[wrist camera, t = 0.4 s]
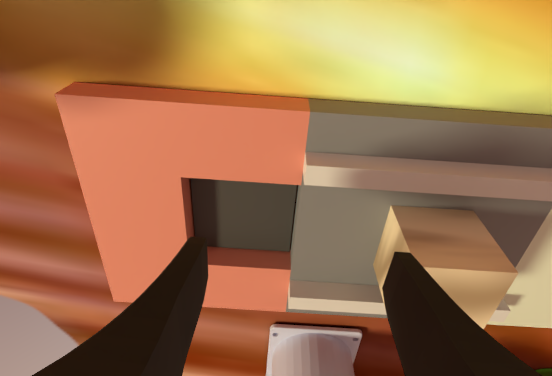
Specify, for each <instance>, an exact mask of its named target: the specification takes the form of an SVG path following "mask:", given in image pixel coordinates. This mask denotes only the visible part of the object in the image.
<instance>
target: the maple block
mask: <svg viewBox="0 0 552 376" xmlns="http://www.w3.org/2000/svg"><path fill="white" fill-rule="evenodd" d="M394 252H409V253H411V254H412V255H413V256H414V257H415V258H416V259H417V260H418V262H419V263H420V264H421V265H422V266H423V267H424V269H425V270H426V271H427V272H428V273H429V274H430V275H431V277H432V278H433V279H434V280H435V281H436V282H437V283H438V284H439V286H440V287H441V288H442V289H443V290H444V291H445V292H446V293H447V294H448V295H449V296H450V298H451V299H452V300H453V301H454V302H455V303H456V304H457V305H458V306H459V307H460V308H461V309H462V310H463V311H464V312H465V313H466V314H467V315H468V316H469V317H470V318H471V319H472V320H473V321H475V322H476V323H477V324H478V325H479V326H480V327H481V328H482V329H484V328H485V326H486V324H487V323H488V321H489V320H490V318H491V317H492V315H493V313H494V312H495V310H496V309H497V307H498V305H499V304H500V302H501V301H502V299H503V297H504V296H505V294H506V293H507V291H508V289H509V288H510V286H511V285H512V283H513V281H514V280H515V278H516V277H517V275H518V272H517V270H516V269H515V267H514V266H513V265H512V263H511V262H510V261H509V259H508V258H507V256H506V255H505V254H504V252H503V251H502V249H501V248H500V247H499V245H498V244H497V243H496V241H495V240H494V238H493V237H492V236H491V234H490V233H489V232H488V230H487V229H486V227H485V226H484V225H483V223H482V222H481V220H480V219H479V218H478V216H477V215H476V214H475V212H474V211H469V210H454V209H439V208H424V207H409V206H393V205H391V207H390V210H389V213H388V217H387V220H386V223H385V227H384V230H383V233H382V237H381V240H380V243H379V247H378V250H377V253H376V257H375V260H374V263H373V266H374V270H375V273H376V277H377V281H378V284H379V288H380V291H381V295H382V299H383V302H384V297H383V291H382V287H383V284H384V281H385V278H386V275H387V272H388V269H389V267H390V264H391V261H392V258H393V255H394ZM384 306H385V303H384Z"/></svg>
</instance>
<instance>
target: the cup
mask: <svg viewBox="0 0 552 376" xmlns="http://www.w3.org/2000/svg"><path fill="white" fill-rule="evenodd" d="M535 371H536V372H538V373H539V374H541V375H542V376H552V369H538V370H535Z"/></svg>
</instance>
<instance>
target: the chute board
mask: <svg viewBox="0 0 552 376" xmlns="http://www.w3.org/2000/svg"><path fill="white" fill-rule="evenodd" d="M55 97H56V101H57V104H58V108H59V111H60V115H61V118H62V122H63V125H64V129H65V132H66V136H67V139H68V143H69V146H70V150H71V153H72V157H73V160H74V164H75V167H76V171H77V174H78V178H79V181H80V185H81V188H82V192H83V195H84V199H85V202H86V206H87V209H88V213H89V216H90V220H91V223H92V227H93V230H94V234H95V237H96V241H97V244H98V248H99V251H100V255H101V258H102V262H103V265H104V269H105V272H106V275H107V279H108V282H109V286H110V289H111V293H112V296H113V300H114V301H117V302H134V301H135V300H136V299H137V298H138V297H139V296H140V295H141V294H142V293H143V292H144V291H145V290H146V289H147V288H148V287H149V286H150V285H151V284H152V283H153V282H154V281H155V279H156V278H157V277H158V276H159V275H160V274H161V273H162V271H163V270H164V269H165V268H166V267H167V266H168V264H169V263H170V262H171V261H172V260H173V258H174V257H175V256H176V254H177V253H178V252H179V251H180V249H181V248H182V247H183V245H184V244H185V242H186V241H187V239H188V238H190V237H203V238H207V254H208V281H207V287H206V292H205V297H204V302H203V305H202V307H215V308H231V309H248V310H264V311H280V312H297V313H313V314H329V315H345V316H362V317H378V318H387V314H386V309H385V306H384V302H383V299H382V295H381V291H380V288H379V284H378V281H377V277H376V273H375V270H374V266H373V263H374V260H375V257H376V253H377V250H378V247H379V243H380V240H381V237H382V233H383V230H384V227H385V223H386V220H387V217H388V213H389V210H390V207H391V205H393V206H409V207H424V208H439V209H454V210H469V211H474V212H475V214H476V215H477V216H478V218H479V219H480V220H481V222H482V223H483V225H484V226H485V227H486V229H487V230H488V232H489V233H490V234H491V236H492V237H493V238H494V240H495V241H496V243H497V244H498V245H499V247H500V248H501V249H502V251H503V252H504V254H505V255H506V256H507V258H508V259H509V261H510V262H511V263H512V265H513V266H514V267H515V269H516V270H517V272H518V275H517V277H516V278H515V280H514V281H513V283H512V285H511V286H510V288H509V289H508V291H507V293H506V294H505V296H504V297H503V299H502V301H501V302H500V304H499V305H498V307H497V309H496V310H495V312H494V313H493V315H492V317H491V318H490V320H489V321H488V323H487V324H492V325H508V326H524V327H541V328H552V116H551V115H537V114H522V113H508V112H494V111H479V110H465V109H451V108H437V107H422V106H408V105H394V104H380V103H365V102H351V101H337V100H323V99H308V98H294V97H280V96H265V95H251V94H237V93H223V92H208V91H194V90H180V89H166V88H151V87H137V86H123V85H109V84H94V83H80V82H74V83H72V84H70V85H69V86H67V87H65V88H64V89H62V90H60V91H59V92H57V93H55ZM190 180H191V184H190ZM297 185H298V190H297V199H296V207H295V216H294V224H293V215H294V206H295V198H296V189H297ZM191 193H192V196H191ZM192 205H193V208H192ZM193 217H194V220H193ZM292 224H293V233H292ZM194 229H195V232H194ZM291 233H292V242H291V250H290V241H291Z"/></svg>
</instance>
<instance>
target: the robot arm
mask: <svg viewBox="0 0 552 376" xmlns="http://www.w3.org/2000/svg"><path fill="white" fill-rule="evenodd" d="M207 281H208V254H207V238H203V237H190V238H188V239H187V241H186V242H185V244H184V245H183V247H182V248H181V249H180V251H179V252H178V253H177V254H176V256H175V257H174V258H173V260H172V261H171V262H170V263H169V264H168V266H167V267H166V268H165V269H164V270H163V271H162V273H161V274H160V275H159V276H158V277H157V278H156V279H155V281H154V282H153V283H152V284H151V285H150V286H149V287H148V288H147V289H146V290H145V291H144V292H143V293H142V294H141V295H140V296H139V297H138V298H137V299H136V300H135V301H134V302H133V303H132V304H131V305H130V306H129V307H127V308H126V309H125V310H124V311H123V312H122V313H121V314H120V315H118V316H117V317H116V318H115V319H114V320H112V321H111V322H110V323H109V324H107V325H106V326H105V327H104V328H102V329H101V330H100V331H99V332H97V333H96V334H95V335H93V336H92V337H91V338H89V339H88V340H86V341H85V342H83V343H82V344H81V345H79V346H78V347H77V348H75V349H74V350H72V351H71V352H69V353H68V354H67V355H65V356H63V357H62V358H60V359H59V360H57V361H55V362H54V363H52V364H50V365H49V366H47V367H45V368H44V369H42V370H40V371H39V372H37V373H35V374H34V375H32V376H182V373H183V368H184V365H185V361H186V357H187V354H188V350H189V347H190V344H191V341H192V337H193V334H194V331H195V328H196V325H197V321H198V318H199V315H200V312H201V308H202V305H203V302H204V297H205V292H206V287H207ZM382 291H383V297H384V303H385V309H386V314H387V318H388V321H389V324H390V328H391V331H392V334H393V338H394V341H395V344H396V347H397V351H398V354H399V357H400V360H401V364H402V367H403V370H404V374H405V376H542V375H541V374H539V373H538V372H536V371H535V370H534V369H532V368H531V367H529V366H528V365H527V364H525V363H524V362H523V361H521V360H520V359H519V358H517V357H516V356H515V355H514V354H512V353H511V352H510V351H508V350H507V349H506V348H505V347H503V346H502V345H501V344H500V343H498V342H497V341H496V340H495V339H494V338H493V337H491V336H490V335H489V334H488V333H487V332H486V331H485V330H483V329H482V328H481V327H480V326H479V325H478V324H477V323H476V322H475V321H473V320H472V319H471V318H470V317H469V316H468V315H467V314H466V313H465V312H464V311H463V310H462V309H461V308H460V307H459V306H458V305H457V304H456V303H455V302H454V301H453V300H452V299H451V298H450V296H449V295H448V294H447V293H446V292H445V291H444V290H443V289H442V288H441V287H440V286H439V284H438V283H437V282H436V281H435V280H434V279H433V278H432V277H431V275H430V274H429V273H428V272H427V271H426V270H425V269H424V267H423V266H422V265H421V264H420V263H419V262H418V260H417V259H416V258H415V257H414V256H413V255H412V254H411V253H409V252H394V255H393V258H392V261H391V264H390V267H389V269H388V272H387V275H386V278H385V281H384V284H383V287H382ZM361 338H362V331H361V330H359V329H351V328H335V327H318V326H302V325H285V324H273V325H271V327H270V336H269V347H268V358H267V370H266V376H355V375H354V369H353V363H354V360H355V357H356V354H357V351H358V347H359V344H360V341H361Z"/></svg>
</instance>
